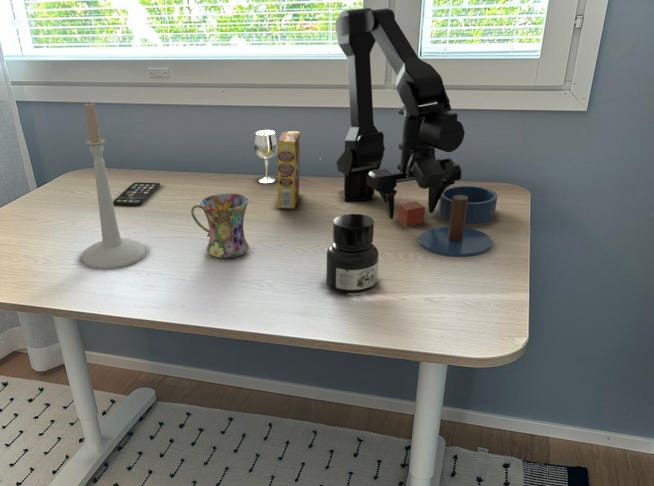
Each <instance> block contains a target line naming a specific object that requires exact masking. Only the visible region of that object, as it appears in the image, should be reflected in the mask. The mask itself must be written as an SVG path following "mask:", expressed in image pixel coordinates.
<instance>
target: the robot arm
mask: <svg viewBox="0 0 654 486" xmlns="http://www.w3.org/2000/svg"><path fill="white" fill-rule="evenodd" d="M334 29H335V32H336V37H337V44H338V46H339V48H340V49H341V51H342V52H343V54H344V55H345V57H346V67H347V68H346V69H347V83H348V99H349V101H348V102H349V115H350V116H349V117H350V128H349V131H348V133H347V135H346V137H345V139H344V150H343V152H342V154H341V155H339V158H338V159H337V160H336V168H337V172H339V173H341V174H343V175H344V176H343V177H344V178H343V179H344V180H343V190H342V195H343V200H344V201H347V202H349V201H373V196H375V191H376V192H377V193H378V194H379V196H380V198H381V200H382V202H383V203H382V204H383V206H384V208H385V210H386V213H387V216H388V218H389V219H390V220H394V215H395V196H396V195H397V192H398V190H396V189H395V188H397V184H398V183H405V182H411V181H415V182H416V183H417V186H418V187H419V188H421V189H425V190H426V189H428V201H427V207H428V213H430V214H433V213H434V211H435V209H436V207H437V205H438V204H439V200H440V197H441V195H442V193H443V192H444V190H445V189H446V188H450V187H451V186H453V185H454V184H456V181H461V180H462V177H463V170H462V167H461V166H460V164H458V163H456V162H454V160H453V159H452V158H450V157H449V158H442V159H441V158H439V159H436V150H440V151H442V152H445V153H452V152H454V151H456V150H458V148H459V147H460V146H461V145H462V143H463V141H464V138H465V133H466V131H465V128H464V125H463V123H462V122H461V121H459V120H458V116H459V115H458V113H456V112H451V111H452V107H451V103H450V102H451V100H450V98H449V96H448V94H447V91H446V88H445V85H444V82H443V78H442V76H441V74H440V73H439V72H438V71H437V70H436V69H435V68H434V67H433V66H432V65H431V64H430V63H428V62H426V61H424V60H422V59H421V58H420V57H419V55H417V53H416V51H415V50H414V48H413V47H412V45H411V44H410V41H409V39H408V38H407V37H406V35H405V33H404V32H403V31H402V29H401V27H400V25H399V24H398V22H397V20H396V17H395V12H394V10H392V9H390V8H388V7H387V8H385V7H384V8H378V9H372V8H371V7H364V8H363V7H362V8H355V9H346V10H342V11H341V12H340V13H339V15H338V17H337V18H336V20H335V23H334ZM376 43H377V45H378V47H379V48H380V51H382V53H383V55H384V57H385V58H386V60H387V62H388V63H389V66H390V67H391V68H392V70H393V72H394V74H395V76H396V81H395V88H396V90H397V93H398V95H399V98H400V100H401V102H402V104H403V106H401V107H399V109H398V110H397V113H398V114H399V115H402V116H403V126H402V127H403V128H402V140H401V141H402V142H401V143H399V144H398V149H399V150H400V151H401V155H400V163H397V170H398V172H392V171H390V170H388V169H386V168H381V165H382V161H383V158H384V154H385V151H386V149H385V148H386V147H385V143H384V141H385V135H384V132H383V131H379V130H378V128H377V126H375V123H374V121H375V120H374V105H373V104H374V103H373V86H372V85H373V84H372V67H371V66H372V65H371V52H372V50H373V49H374V46H375V44H376Z"/></svg>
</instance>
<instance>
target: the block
mask: <svg viewBox="0 0 654 486" xmlns="http://www.w3.org/2000/svg"><path fill="white" fill-rule="evenodd" d="M425 213H426V206H424V205H423V204H421V203H420V202H418V201H409V202H401V203H398V213H397V221H400V222H401V223H402V224H403V225H405V226H406V227H408V226H414V225H419V224H424V223H425Z"/></svg>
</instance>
